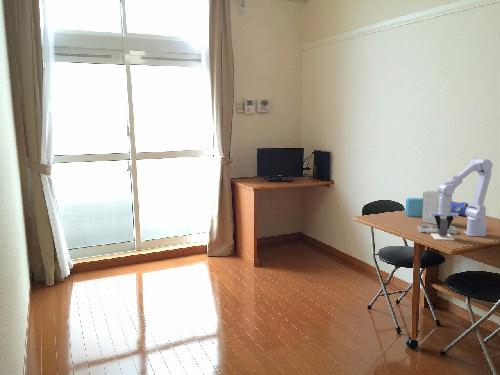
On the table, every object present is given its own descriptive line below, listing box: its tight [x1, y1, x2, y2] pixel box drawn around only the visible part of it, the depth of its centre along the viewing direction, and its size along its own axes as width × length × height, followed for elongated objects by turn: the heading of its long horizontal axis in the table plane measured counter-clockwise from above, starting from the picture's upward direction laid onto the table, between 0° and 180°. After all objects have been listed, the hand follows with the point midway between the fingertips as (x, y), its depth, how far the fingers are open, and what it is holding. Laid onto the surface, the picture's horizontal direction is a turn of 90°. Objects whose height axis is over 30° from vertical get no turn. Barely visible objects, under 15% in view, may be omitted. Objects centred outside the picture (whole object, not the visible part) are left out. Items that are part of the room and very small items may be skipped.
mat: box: [430, 233, 455, 241], centre depth 233 cm, size 10×10×1 cm
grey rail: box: [417, 224, 458, 235], centre depth 245 cm, size 20×8×3 cm, turn 80°
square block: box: [437, 218, 448, 236], centre depth 233 cm, size 4×4×9 cm
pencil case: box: [451, 200, 470, 217], centre depth 284 cm, size 22×9×10 cm, turn 36°
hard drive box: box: [421, 190, 453, 225], centre depth 261 cm, size 16×8×20 cm, turn 47°
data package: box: [405, 197, 423, 218], centre depth 280 cm, size 12×4×12 cm, turn 90°
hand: (442, 228), depth 233 cm, fingers closed on square block, 4 cm apart
